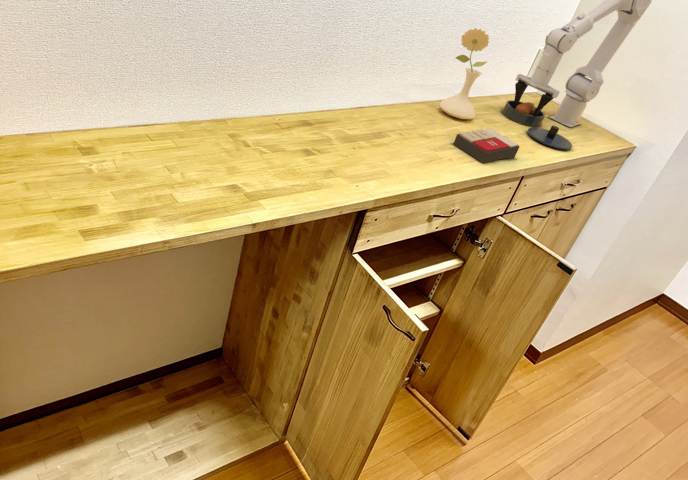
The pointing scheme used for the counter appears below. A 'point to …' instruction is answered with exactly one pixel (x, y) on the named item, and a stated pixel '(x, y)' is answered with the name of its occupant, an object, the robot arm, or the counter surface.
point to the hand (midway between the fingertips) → (525, 109)
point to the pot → (522, 115)
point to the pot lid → (550, 137)
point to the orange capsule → (526, 108)
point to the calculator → (486, 145)
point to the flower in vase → (460, 102)
